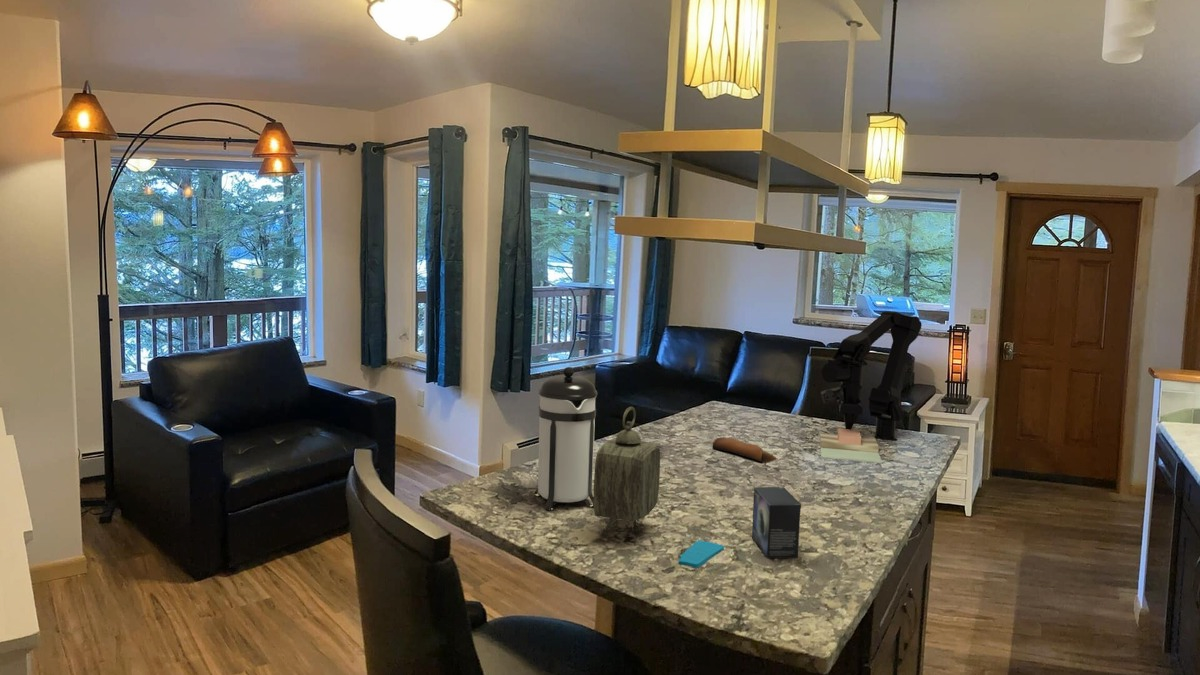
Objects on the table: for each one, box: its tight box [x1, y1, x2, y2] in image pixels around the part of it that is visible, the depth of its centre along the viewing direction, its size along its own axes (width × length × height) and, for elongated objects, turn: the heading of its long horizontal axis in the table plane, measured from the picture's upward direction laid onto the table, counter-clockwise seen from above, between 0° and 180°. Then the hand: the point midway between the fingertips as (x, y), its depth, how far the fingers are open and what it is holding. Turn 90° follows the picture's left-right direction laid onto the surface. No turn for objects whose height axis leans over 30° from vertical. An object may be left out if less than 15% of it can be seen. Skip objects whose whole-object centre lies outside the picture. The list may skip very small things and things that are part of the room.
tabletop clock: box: [593, 406, 661, 538], centre depth 152 cm, size 14×9×25 cm, turn 159°
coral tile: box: [837, 428, 862, 445], centre depth 228 cm, size 9×6×2 cm, turn 165°
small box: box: [751, 486, 802, 559], centre depth 147 cm, size 11×6×10 cm, turn 5°
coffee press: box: [533, 366, 598, 511], centre depth 170 cm, size 17×16×30 cm
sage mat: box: [820, 448, 883, 464], centre depth 218 cm, size 10×16×1 cm, turn 75°
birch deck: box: [819, 432, 880, 453], centre depth 229 cm, size 12×16×2 cm
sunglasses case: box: [712, 437, 778, 464], centre depth 216 cm, size 18×7×7 cm
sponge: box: [678, 540, 725, 569], centre depth 143 cm, size 2×12×6 cm
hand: (847, 431), depth 233 cm, fingers closed
